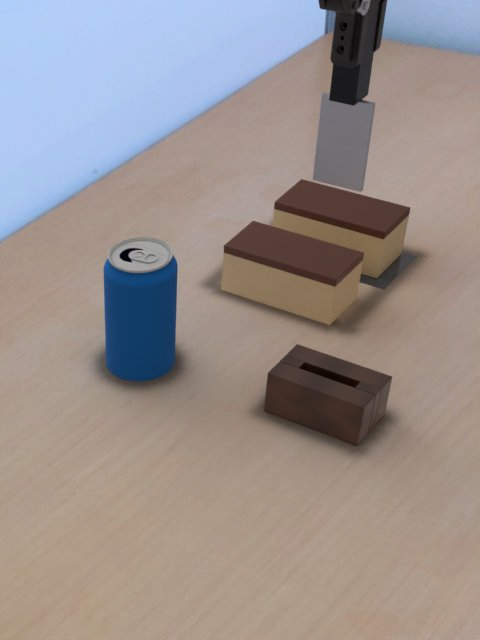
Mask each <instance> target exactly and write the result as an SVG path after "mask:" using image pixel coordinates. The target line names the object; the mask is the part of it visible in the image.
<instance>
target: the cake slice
mask: <svg viewBox="0 0 480 640" xmlns="http://www.w3.org/2000/svg"><path fill="white" fill-rule="evenodd" d="M222 255H223V256H222V268H221V269H222V270H221V271H222V272H221V287H220V290H221V291H223V292H227V293H230V294H233V295H236V296H239V297H241V298H244V299H248V300H250V301H254V302H257V303H260V304H264V305H267V306H269V307H272V308H276V309H279V310H282V311H285V312H289V313H290V314H291V313H292V314H293V315H297V316H299V317H303V318H306V319H309V320H313V321H316V322H319V323H322V324H324V325H328V326H330V325H331V324H333V323H334V321H336V320H337V319H338V317H340V316H341V315H342V314H343V313H344V312H345V311H346V310H347V309H348V308H349V307H350V306H351V305H352V304H353V302H355V301H356V300H357V298H358V293H359V286H360V282H359V281H360V275H361V269H362V264H363V257H364V252H360V251H357V250H353V249H350V248H346V247H343V246H339V245H336V244H333V243H329V242H326V241H322V240H319V239H315V238H312V237H308V236H305V235H301V234H298V233H294V232H291V231H287V230H284V229H280V228H277V227H273V226H272V225H270V224H266V223H263V222H260V221H255V220H252V221H251V222H249V223H248V224H247V225H246V226H245V227H244V228H243V229H241V230H240V231H239V232H238V233H236V234H235V235H234V236H233V237H232V238H230V239H229V240H228V241H227V242H226V243H225V244H224V245H223V253H222Z"/></svg>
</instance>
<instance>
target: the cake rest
mask: <svg viewBox="0 0 480 640" xmlns="http://www.w3.org/2000/svg"><path fill="white" fill-rule="evenodd" d="M410 214H411V207H410V206H408V205H407V206H406V205H403V204H399V203H395V202H391V201H389V200H388V201H387V200H383V199H381V198H375V197H372V196H368V195H364V194H362V193H361V194H360V193H358V192H357V193H356V192H352V191H348V190H346V189H341V188H338V187H335V186H330V185H325V184H322V183H318V182H316V181H315V182H314V181H311V180H307V179H303V178H301V179H300V180H299V181H297V182H296V183H295V184H294V185H292V186H291V187H290V188H289V189H288V190H287V191H286V192H284V193H283V194H282V195H281V196H280V197H278V198H277V199H276V200H275V201H274V205H273V215H272V225H271V226H273V227H277V228H280V229H284V230H287V231H291V232H294V233H298V234H301V235H305V236H308V237H312V238H315V239H319V240H322V241H326V242H329V243H333V244H336V245H339V246H343V247H346V248H350V249H353V250H357V251H360V252H364V257H363V264H362V269H361V274H363V275H367V276H370V277H373V278H378V277H379V276H380V275H381V274H382V273H383V272H384V271H385V270H386V269H387V268H388V267H389V266H390V265H391V264H392V263H393V262H394V261H395V260H396V259H397V258H398V257H399V256H400V255H401V254H402V251H403V247H404V243H405V238H406V233H407V230H408V229H407V228H408V223H409V218H410Z"/></svg>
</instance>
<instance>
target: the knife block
mask: <svg viewBox="0 0 480 640" xmlns="http://www.w3.org/2000/svg"><path fill="white" fill-rule="evenodd" d="M392 381H393V376H392V375H388V374H386V373H383V372H380V371H377V370H374V369H372V368H368V367H366V366H363V365H360V364H357V363H355V362H351V361H348V360H345V359H342V358H339V357H336V356H334V355H330V354H327V353H325V352H322V351H318V350H316V349H313V348H310V347H307V346H304V345H301V344H298V343H296V344H295V346H293V348H291V350H289V351H288V352H287V353H286V354H285V355H284V356H283V357H282V358H281V359H280V360H279V361H278V362H277V363H276V364H275V365H274V366H273V367H272V368H271V369H270V370H269V371H268V372H267V376H266V384H265V385H266V386H265V395H264V403H263V405H264V406H263V412H265V413H268V414H271V415H273V416H276V417H277V418H281V419H284V420H286V421H289V422H292V423H295V424H297V425H299V426H302V427H305V428H307V429H310V430H313V431H315V432H318V433H321V434H323V435H325V436H329V437H331V438H334V439H336V440H340V441H342V442H345V443H347V444H350V445H352V446H354V447H358V446H359V445H360V444H361V442H363V440H364V439H365V438H366V437H367V436H368V435H369V434H370V432H371V431H372V430H373V429H374V428H375V427H376V426H377V425H378V424H379V422H380V421H381V420H383V418H384V416H385V414H386V410H387V406H388V405H387V404H388V400H389V395H390V391H391V386H392Z"/></svg>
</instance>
